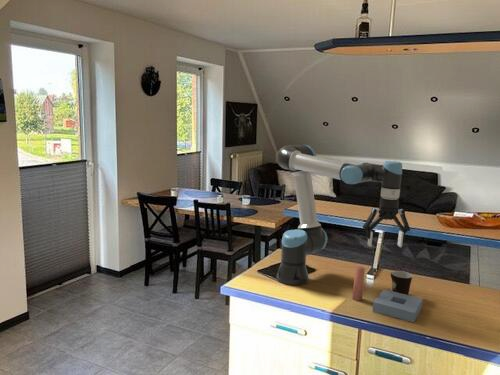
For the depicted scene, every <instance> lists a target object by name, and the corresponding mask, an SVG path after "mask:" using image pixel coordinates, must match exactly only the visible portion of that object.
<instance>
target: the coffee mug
mask: <svg viewBox="0 0 500 375" xmlns="http://www.w3.org/2000/svg"><path fill="white" fill-rule="evenodd" d="M390 278H391V288H392V290H391V291H393V292H397V293H402V294H406V295H409V292H410V288H411V283H412V280H413V275H412V274H411V273H409V272H407V271H403V270H393V271H392V272H390Z"/></svg>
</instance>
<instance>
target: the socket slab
mask: <svg viewBox="0 0 500 375" xmlns="http://www.w3.org/2000/svg"><path fill="white" fill-rule="evenodd" d="M423 300H424V298H421V297H417V296H413V295H409V294H408V295H406V294H402V293H397V292H393V291H392V290H388V289H385V288H384V289H383V290H382V291H381V293H379V295H378V296H377V297H376V298H375V300H373V302H372V312H374V313H377V314H381V315H385V316H387V317H388V316H389V317H392V318H397V319H399V320H403V321H406V322H411V323H415V321H416V319H417V317H418V316H419V314H420V312H421V310H422V308H423V303H424V302H423Z"/></svg>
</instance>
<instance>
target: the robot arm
mask: <svg viewBox="0 0 500 375" xmlns="http://www.w3.org/2000/svg"><path fill="white" fill-rule="evenodd" d="M276 162H277V165H278V166H279V167H281V168H282V169H284V170H288V171H289V173H290V175H292V176H293V180H294V186H295V195H296V202H297V203H296V204H297V209H298V218H299V223H300V224H299V225H298V226H297V229H290V230H289V229H288V230H286V231H285V232H284V233H283V234H282V238H281V239H282V240H281V253H280V254H281V256H280V257H281V259H280V260H281V262H280V265H279V266H278V270H277V273H276V280H277V279H278V280H277V281H278V282H279V281H280V283H281V284H284V285H290V286H300V285H301V286H302V285H305V284H307V283H308V282H309V273H308V270H307V266H306V263H307V262H306V261H307V260H306V259H307V256H309V255H312V254H314V253H319V252H320V251H322V250H323V249H325V248H326V246H327V243H328V234H327V232H326V231H325V230H324V229H323V228H322V224H321V223H320V222H319V221H318V216H317V209H316V202H315V201H316V199H315V195H314V187H313V185H314V184H313V179H312V174H315V175H320V176H324V177H327V178H332V179H334V180H340V181H343V182H344V183H345V184H348V185H356V184H359V183H360V184H361V183H365V182H366V183H367V182H375V183H381V189H380V198H379V208H374V207H372V208H371V211H370V212H371V213H370V214H369V215H368V217H367V219H366V221H365V223H364V224H363V225H362V229H364V231H366V236H365V238H366V239H367V246H368V247H370V248H372V246H373V244H372V243H373V235H374V234H373V233H374V232H373V230H374V229H376V226H378V225H379V224H380V223H381V222H382V221H383V220H386V221H388V220H390V221H392V220H393V221H394V223H395V224H396V225H397V227H398V228H399V231H398V237H397V246H398V247H399V248H402V247H403V240H405V238H406V233H407V232H410V231H411V227H410V225H409V222H408V219H407V217H406V210H405V209H403V208H400V209H399V204H400V203H399V202H400V200H399V198H400V193H401V183H402V176H403V163H402V162H400V161H396V160H385V161H384V162H383V164H377V163H370V162H359V163H358V164H353V163H352V164H351V163H347V162H344V161H338V160H334V159H333V160H332V159H328V158H324V157H319V156H317V154H316V151H315V150H314V148H312V146H310V145H308V144H307V145H306V144H292V145H290V144H288V145H285V146H282V147H281V148H279V150H278V152H277V154H276ZM377 214H378V215H377ZM398 214H399V216H400V219H401V222H400V220H399V218H398V217H397V215H398ZM376 215H377V216H376Z"/></svg>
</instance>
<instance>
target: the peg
mask: <svg viewBox="0 0 500 375" xmlns="http://www.w3.org/2000/svg"><path fill="white" fill-rule="evenodd" d="M365 269H366V268H365V267H363V266H355V267H354V276H353V277H354V278H353V287H352V289H353V292H352V300H353V301H356V302H361V301H363V293H364V282H365V281H364V280H365Z"/></svg>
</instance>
